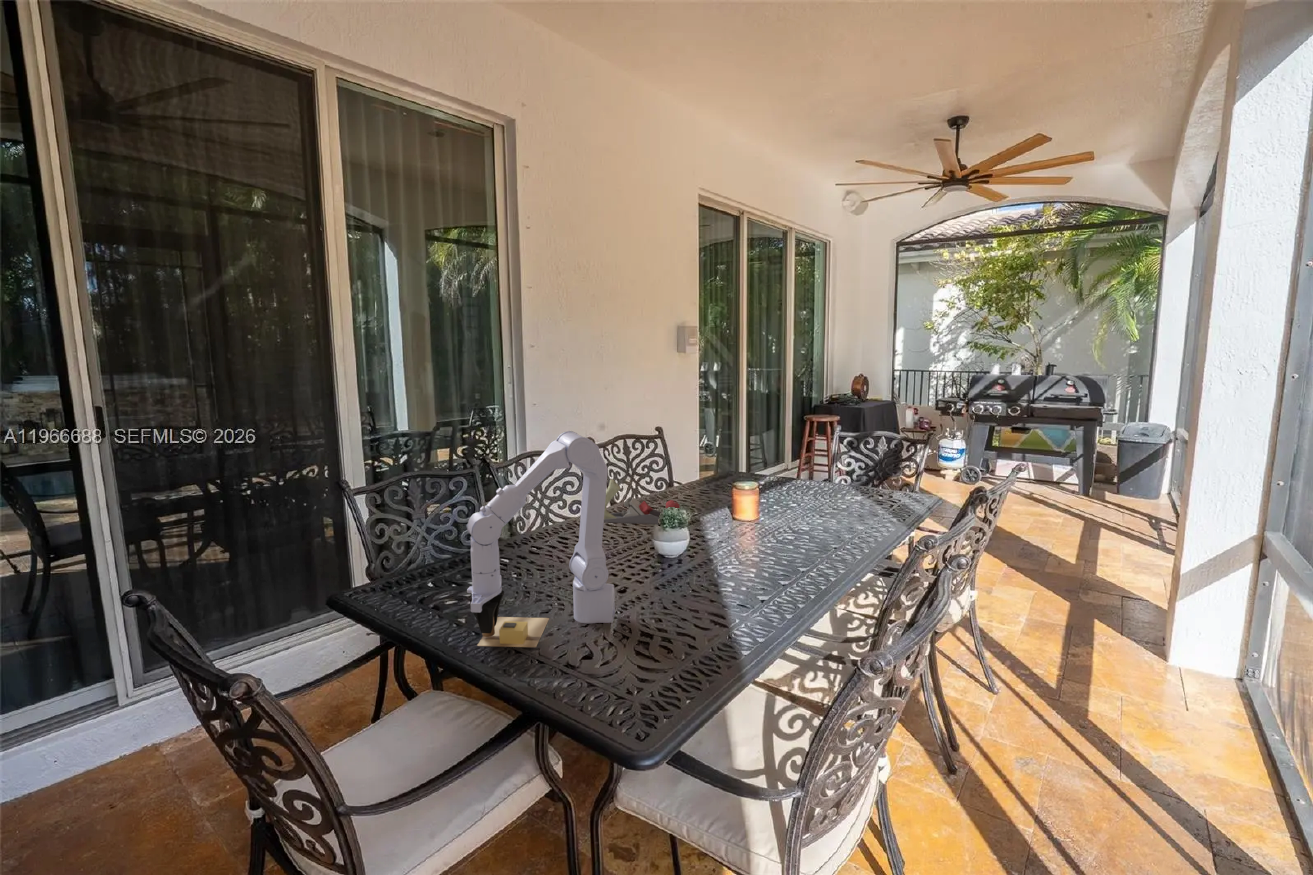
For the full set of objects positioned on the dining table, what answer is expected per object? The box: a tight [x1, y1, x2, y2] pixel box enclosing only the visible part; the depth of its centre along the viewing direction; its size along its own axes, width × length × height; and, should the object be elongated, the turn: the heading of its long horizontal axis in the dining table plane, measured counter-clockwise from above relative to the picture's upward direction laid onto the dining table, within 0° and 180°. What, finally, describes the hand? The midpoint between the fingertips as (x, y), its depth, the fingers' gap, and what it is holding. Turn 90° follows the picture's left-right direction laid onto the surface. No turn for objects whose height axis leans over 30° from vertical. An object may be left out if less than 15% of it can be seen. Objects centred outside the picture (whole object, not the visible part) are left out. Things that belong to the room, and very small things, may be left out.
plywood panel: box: [476, 616, 550, 648], centre depth 134 cm, size 12×13×1 cm
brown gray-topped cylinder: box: [481, 618, 495, 637], centre depth 131 cm, size 3×3×6 cm
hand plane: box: [604, 478, 681, 525], centre depth 215 cm, size 7×31×15 cm, turn 84°
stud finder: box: [499, 621, 528, 644], centre depth 131 cm, size 5×4×3 cm
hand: (488, 628), depth 131 cm, fingers closed on brown gray-topped cylinder, 2 cm apart
